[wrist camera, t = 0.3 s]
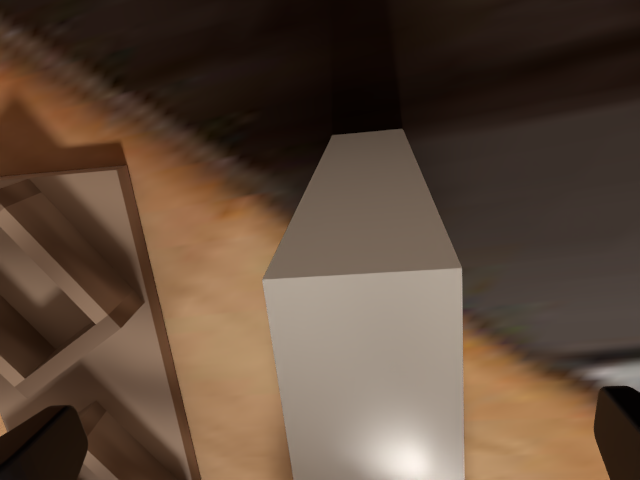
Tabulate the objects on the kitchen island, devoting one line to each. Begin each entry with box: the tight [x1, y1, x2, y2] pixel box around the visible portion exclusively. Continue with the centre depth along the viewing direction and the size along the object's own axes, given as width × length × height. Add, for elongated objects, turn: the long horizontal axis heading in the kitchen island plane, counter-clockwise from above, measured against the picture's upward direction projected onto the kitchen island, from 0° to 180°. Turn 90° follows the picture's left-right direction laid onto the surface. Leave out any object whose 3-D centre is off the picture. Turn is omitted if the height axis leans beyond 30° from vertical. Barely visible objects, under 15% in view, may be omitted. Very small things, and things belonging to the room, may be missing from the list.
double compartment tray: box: [0, 165, 201, 480], centre depth 26 cm, size 22×10×4 cm, turn 6°
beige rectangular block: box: [262, 129, 464, 480], centre depth 15 cm, size 4×3×15 cm
